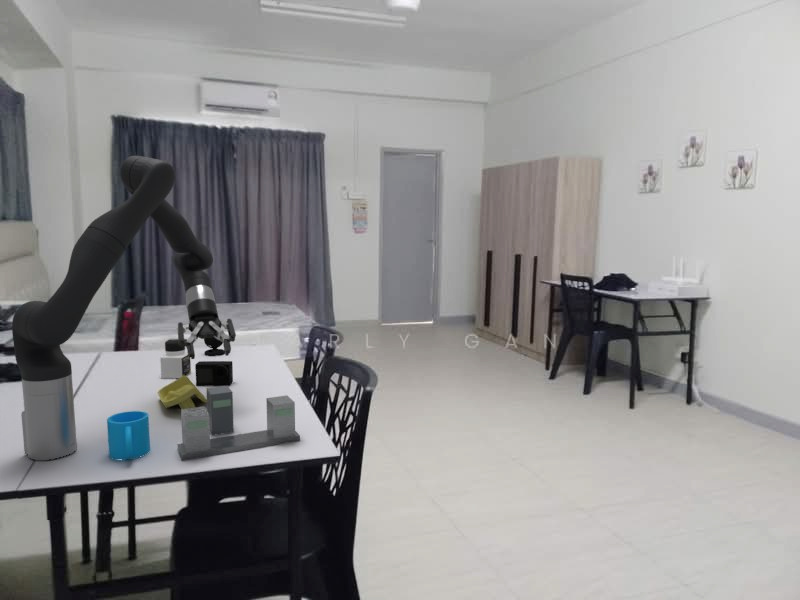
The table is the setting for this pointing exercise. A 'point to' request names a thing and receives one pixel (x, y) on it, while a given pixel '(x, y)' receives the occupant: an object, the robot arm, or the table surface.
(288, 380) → the table surface
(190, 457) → the rail
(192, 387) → the plastic component
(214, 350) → the webcam
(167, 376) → the medicine bottle
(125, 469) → the table surface
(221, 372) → the digital camera
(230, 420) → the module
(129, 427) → the mug
